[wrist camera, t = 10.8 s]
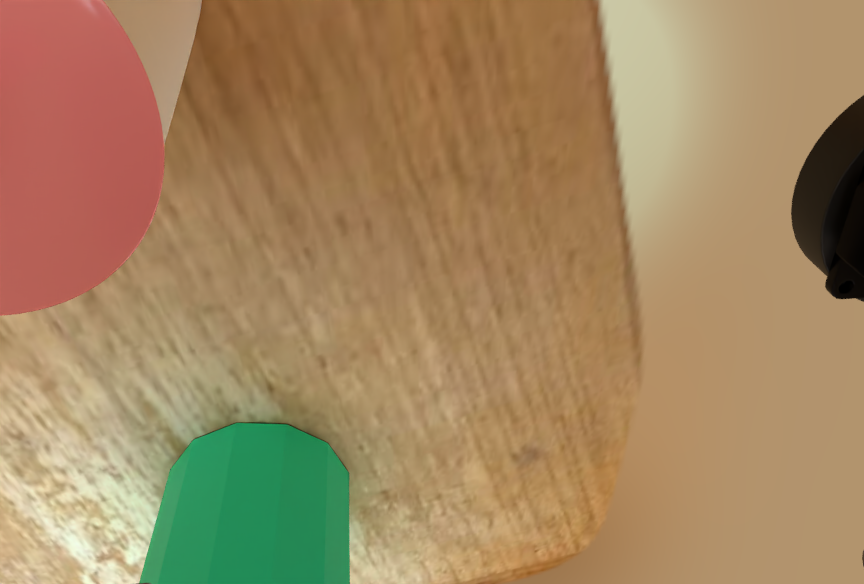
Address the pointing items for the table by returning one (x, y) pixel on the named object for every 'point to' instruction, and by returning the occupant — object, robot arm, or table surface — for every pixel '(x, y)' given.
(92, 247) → the cup
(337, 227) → the table surface
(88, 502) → the table surface
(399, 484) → the table surface
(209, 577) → the candle
